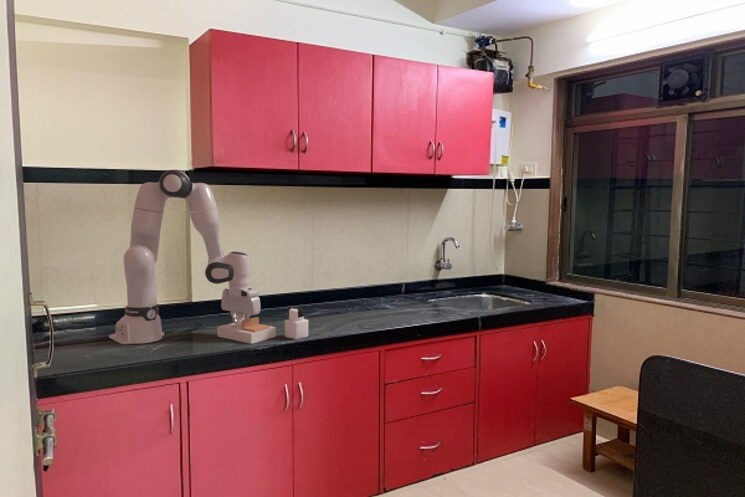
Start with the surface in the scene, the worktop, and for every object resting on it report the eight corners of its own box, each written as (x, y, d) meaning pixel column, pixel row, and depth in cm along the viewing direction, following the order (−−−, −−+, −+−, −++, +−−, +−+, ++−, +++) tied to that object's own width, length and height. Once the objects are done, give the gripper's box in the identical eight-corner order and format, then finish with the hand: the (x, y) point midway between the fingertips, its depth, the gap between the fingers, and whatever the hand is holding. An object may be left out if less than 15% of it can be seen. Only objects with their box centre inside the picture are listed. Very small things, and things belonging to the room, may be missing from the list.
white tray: (217, 336, 232) (217, 326, 231) (242, 329, 243) (242, 320, 243) (251, 343, 221) (251, 333, 220) (276, 336, 232) (275, 327, 232)
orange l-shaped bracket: (241, 329, 227) (241, 320, 227) (256, 325, 234) (256, 317, 234) (255, 332, 223) (254, 323, 223) (269, 328, 230) (269, 319, 230)
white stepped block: (297, 333, 237) (296, 306, 236) (308, 336, 233) (308, 308, 232) (284, 336, 232) (284, 308, 231) (296, 339, 227) (296, 311, 226)
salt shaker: (243, 336, 232) (242, 314, 231) (234, 336, 233) (233, 313, 232) (247, 334, 236) (246, 312, 235) (238, 333, 237) (237, 311, 236)
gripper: (217, 288, 236) (218, 320, 237) (251, 293, 224) (252, 327, 226) (228, 286, 241) (229, 318, 242) (262, 291, 230) (263, 324, 231)
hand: (240, 322), depth 234 cm, fingers open, 5 cm apart
